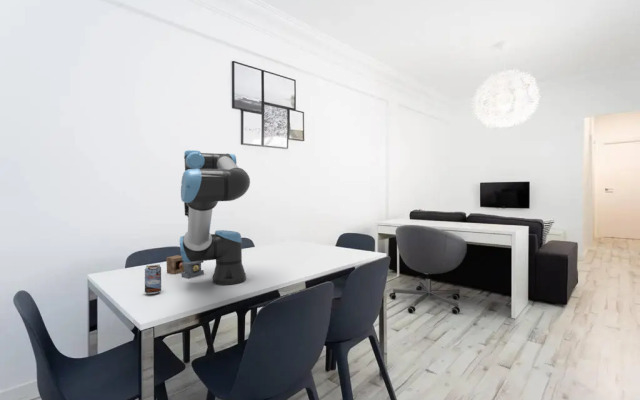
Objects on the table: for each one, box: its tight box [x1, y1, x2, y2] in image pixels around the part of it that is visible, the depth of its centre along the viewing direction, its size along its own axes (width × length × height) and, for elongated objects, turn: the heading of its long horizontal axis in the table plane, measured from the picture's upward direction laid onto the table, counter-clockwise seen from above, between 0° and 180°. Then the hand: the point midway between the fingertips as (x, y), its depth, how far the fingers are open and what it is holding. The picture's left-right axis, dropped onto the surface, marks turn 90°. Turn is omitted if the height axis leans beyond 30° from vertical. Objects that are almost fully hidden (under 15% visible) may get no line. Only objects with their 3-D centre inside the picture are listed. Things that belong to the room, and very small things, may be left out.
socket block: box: [165, 254, 184, 275], centre depth 171 cm, size 6×6×8 cm
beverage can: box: [144, 263, 162, 295], centre depth 137 cm, size 6×7×12 cm
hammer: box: [179, 261, 199, 272], centre depth 165 cm, size 12×4×10 cm, turn 58°
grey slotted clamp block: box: [181, 261, 205, 280], centre depth 164 cm, size 5×9×7 cm, turn 148°
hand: (194, 230), depth 161 cm, fingers open, 4 cm apart
